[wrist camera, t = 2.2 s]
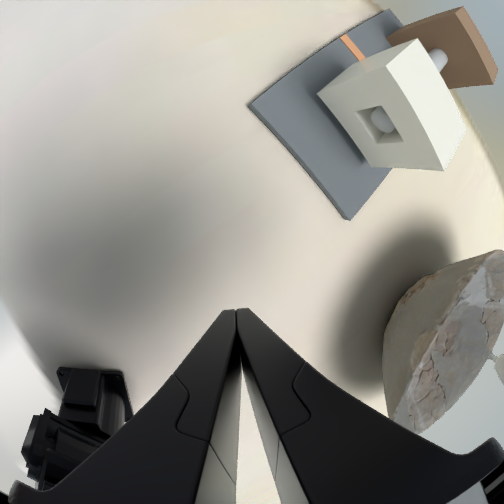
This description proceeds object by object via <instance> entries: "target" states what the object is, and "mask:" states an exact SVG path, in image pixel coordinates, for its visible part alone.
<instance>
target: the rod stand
mask: <svg viewBox="0 0 504 504" xmlns="http://www.w3.org/2000/svg"><path fill="white" fill-rule="evenodd" d="M416 38H418V40H419V41H420V43H421V44H422V46H423V47H424V49H425V50H426V52H427V53H428V55H429V56H430V58H431V60H432V61H433V63H434V64H435V66H436V68H437V70H438V71H439V73H440V75H441V77H442V78H443V80H444V82H445V84H446V86H447V88H448V89H452V88H460V87H469V86H479V85H492V84H494V81H495V78H496V75H497V72H498V68H497V66H496V64H495V62H494V60H493V57H492V55H491V54H490V51H489V49H488V47H487V46H486V44H485V42H484V40H483V38H482V36H481V35H480V33H479V31H478V29H477V27H476V26H475V24H474V23H473V21H472V19H471V17H470V16H469V14H468V13H467V11H466V10H465V8H464V7H463V6H462V7H458V8H455V9H452V10H448V11H445V12H442V13H439V14H436V15H433V16H430V17H428V18H424V19H422V20H419V21H416V22H414V23H411V24H408V25H406V26H403V25H402V23H401V22H400V21H399V20H398V18H397V17H396V16H395V15H394V13H393V12H392V11H391V10H390V9H387V10H385V11H384V12H382V13H380V14H378V15H376V16H374V17H373V18H371V19H369V20H367V21H366V22H364V23H362V24H361V25H359V26H357V27H355V28H354V29H352V30H351V31H349V32H347V33H346V34H344V35H343V36H341V37H339V38H338V39H336V40H335V41H333V42H332V43H330V44H329V45H327V46H326V47H324V48H323V49H321V50H320V51H319V52H317V53H316V54H314V55H313V56H311V57H310V58H309V59H307V60H306V61H304V62H303V63H302V64H300V65H299V66H298V67H296V68H295V69H294V70H292V71H291V72H290V73H288V74H287V75H286V76H284V77H283V78H282V79H281V80H279V81H278V82H277V83H276V84H274V85H273V86H272V87H271V88H269V89H268V90H267V91H266V92H264V93H263V94H262V95H261V96H260V97H258V98H257V99H256V100H255V101H254V102H253V103H251V104H250V105H249V106H248V107H249V108H250V109H251V110H252V111H253V112H254V113H255V114H256V116H257V117H258V118H259V119H260V120H261V121H262V122H263V123H264V124H265V125H266V126H267V127H268V128H269V129H270V130H271V131H272V132H273V134H274V135H275V136H276V137H277V138H278V139H279V140H280V141H281V142H282V143H283V145H284V146H285V147H286V148H287V149H288V150H289V151H290V152H291V154H292V155H293V156H294V157H295V158H296V159H297V161H298V162H299V163H300V164H301V165H302V166H303V168H304V169H305V170H306V171H307V172H308V174H309V175H310V176H311V177H312V178H313V180H314V181H315V182H316V183H317V184H318V186H319V187H320V188H321V189H322V191H323V192H324V193H325V194H326V196H327V197H328V198H329V199H330V201H331V202H332V203H333V205H334V206H335V207H336V208H337V210H338V211H339V212H340V214H341V215H342V216H343V218H344V219H345V220H349V221H351V219H352V218H353V217H354V216H355V215H356V213H357V212H358V211H359V210H360V209H361V207H362V206H363V205H364V204H365V202H366V201H367V200H368V199H369V197H370V196H371V195H372V194H373V192H374V191H375V190H376V189H377V187H378V186H379V185H380V184H381V182H382V181H383V180H384V178H385V177H386V176H387V175H388V173H389V172H390V171H391V169H392V168H385V167H371V166H370V164H369V163H368V161H367V160H366V158H365V157H364V155H363V154H362V152H361V151H360V149H359V148H358V147H357V145H356V144H355V142H354V141H353V140H352V138H351V137H350V135H349V134H348V133H347V131H346V130H345V129H344V127H343V126H342V125H341V123H340V122H339V121H338V119H337V118H336V117H335V116H334V114H333V113H332V112H331V110H330V109H329V108H328V107H327V106H326V104H325V103H324V102H323V101H322V99H321V98H320V97H319V96H318V95H317V93H318V92H319V91H320V90H322V89H323V88H324V87H325V86H326V85H328V84H329V83H330V82H331V81H332V80H334V79H335V78H336V77H337V76H338V75H340V74H341V73H342V72H343V71H345V70H346V69H347V68H348V67H349V66H351V65H352V64H354V63H356V62H358V61H361V60H363V59H365V58H367V57H370V56H372V55H374V54H377V53H379V52H382V51H384V50H387V49H389V48H392V47H394V46H397V45H400V44H402V43H405V42H408V41H411V40H414V39H416ZM371 120H372V122H373V124H374V125H375V126H376V127H377V128H378V129H379V130H381V131H383V132H385V133H391V132H392V131H393V130H394V129H395V128H396V127H395V126H394V124H393V123H392V121H391V119H390V118H389V116H388V115H387V113H386V112H385V110H384V109H383V107H382V106H378V107H377V108H376V109H375V110H374V111H373V112H372V113H371Z"/></svg>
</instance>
